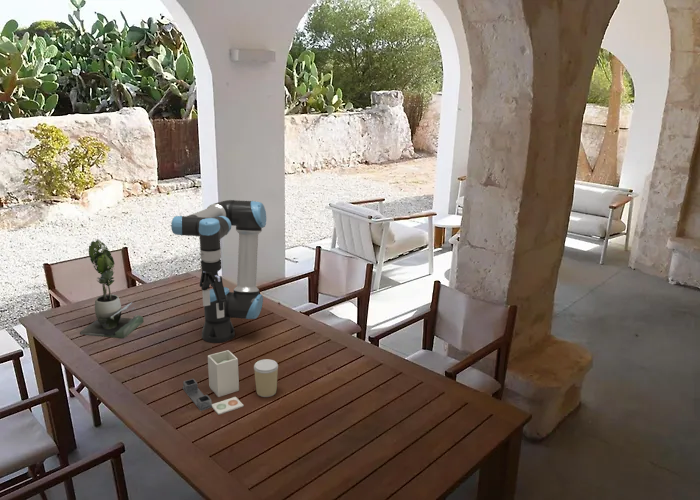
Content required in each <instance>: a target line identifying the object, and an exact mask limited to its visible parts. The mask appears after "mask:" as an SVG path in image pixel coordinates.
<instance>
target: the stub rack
mask: <svg viewBox="0 0 700 500" xmlns="http://www.w3.org/2000/svg"><path fill="white" fill-rule="evenodd" d="M182 385H183V386H182V390H183V391H184V392H185V394H186V395H187V396H188V397H189V398H190V400H191V402H192V403H194V405H195V406H196V407H197V408H198V410H199V411H200V412H202V411H205V410H208V409H211V408H212V404H213V402H212V400H213V399H211V397H210V396H209V395H208V394H204V393H203V391H201V390H200V388H198V385H199V384H198V382H197V381H196V380H195V378H191V379H188V380H183V381H182Z"/></svg>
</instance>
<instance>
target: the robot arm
mask: <svg viewBox="0 0 700 500" xmlns="http://www.w3.org/2000/svg"><path fill="white" fill-rule="evenodd" d="M266 224H267V212H266V208H265V205H264V204H263V203H262V202H261V201H256V200H255V201H254V200H236V199H228V200H222V201H218V202H215V203H213V204H209V206H207V208H205V209H203V210H200V211H197V212H195V213H191V214H189V215H186V216H184V215H176V216H174V217H173V218H172V220H171V225H170V226H171V227H170V228H171V232H172V234H173V235H176V236H177V235H178V236H181V237H182V236H187V237H188V236H189V237H199V249H200V252H199V256H200V260H201V261H200V270H201V275H200V280H199V287H200V289H201V290H202V291H201V292H202V293H201V294H202V305H203V312H204V325H203V327H202V331H201V339H202V340H203V341H205V342H207V343H213V344H217V343H219V344H220V343H224V342H228V341H230V340H232V339H233V338H235V335H236V333H235V328H234V325H233V323H232V320H231V318H232V319H233V318H234V319H246V320H256V319H257V318H258V317H259V316H260V313H261V311H262V308H263V303H264V297H263V295H262V294H261V293H260V289H259V288H258V287H257V272H258V271H257V270H258V268H257V267H258V243H259V235H260V233H261V232H262V231H263V229H262V228H265V227H266ZM232 226H233V227H234V226H235V231H236V232H237V233H238V252H237V253H238V255H237V256H238V257H237V282H236V286H235V287H234V288H233V292H232V291H230V289H229V287H226V286H224V283H223V276H222V275H219V273H218V272H219V271H221V270H222V248H221V239H222V238H224V237H225V236H227V235H228V234H229V232H230V231H231V229H232ZM211 287H212V288H211Z"/></svg>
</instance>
